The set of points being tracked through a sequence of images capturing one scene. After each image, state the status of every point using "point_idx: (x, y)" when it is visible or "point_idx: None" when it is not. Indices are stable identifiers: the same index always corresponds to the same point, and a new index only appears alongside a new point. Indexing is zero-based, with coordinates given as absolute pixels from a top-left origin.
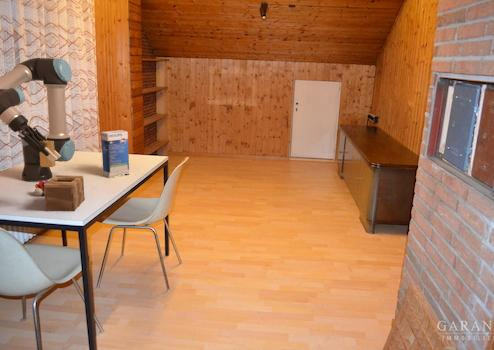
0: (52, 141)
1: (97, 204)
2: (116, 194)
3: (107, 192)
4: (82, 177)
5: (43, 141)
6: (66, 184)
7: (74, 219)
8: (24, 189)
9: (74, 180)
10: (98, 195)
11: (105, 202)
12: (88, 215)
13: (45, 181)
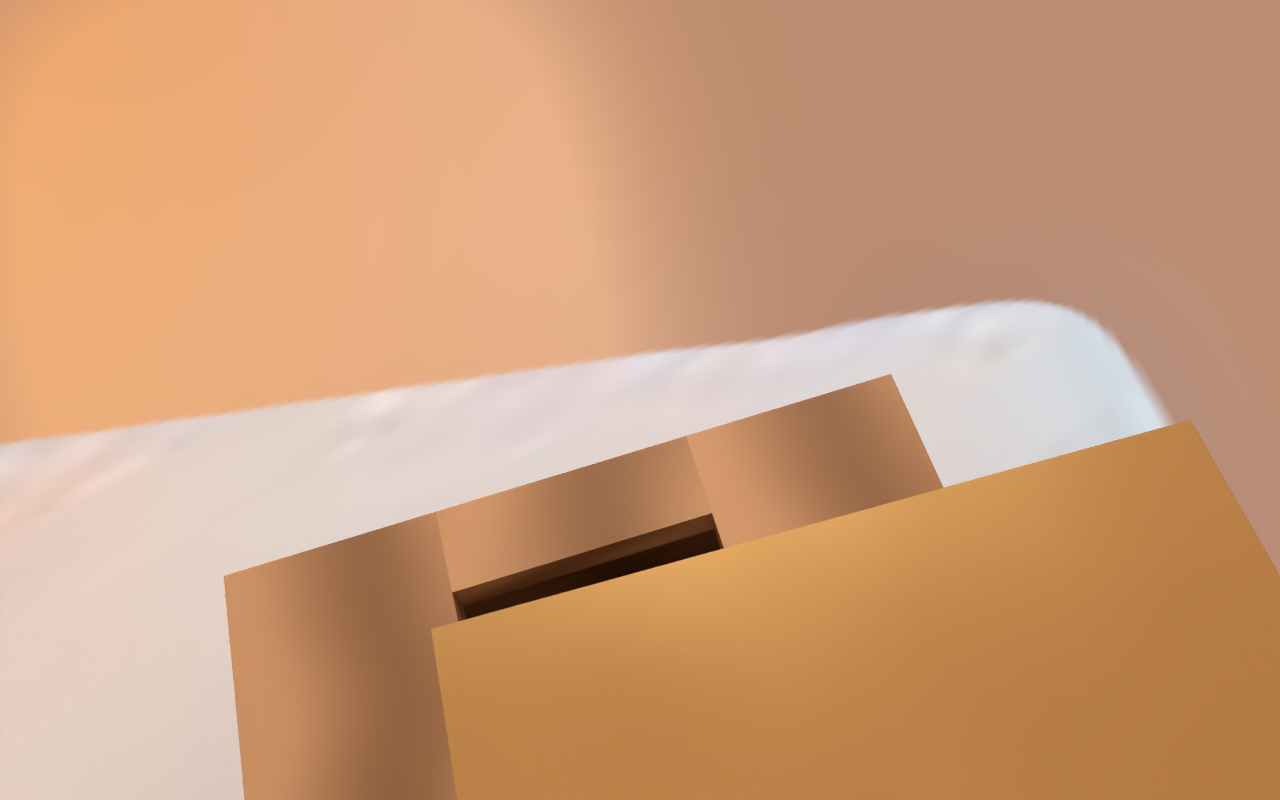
0: (734, 564)
1: (522, 441)
2: (90, 443)
3: (6, 593)
4: (287, 566)
5: None
6: (904, 488)
7: (1094, 385)
8: None
9: (601, 520)
10: (154, 632)
11: (427, 398)
12: (911, 326)
13: None
